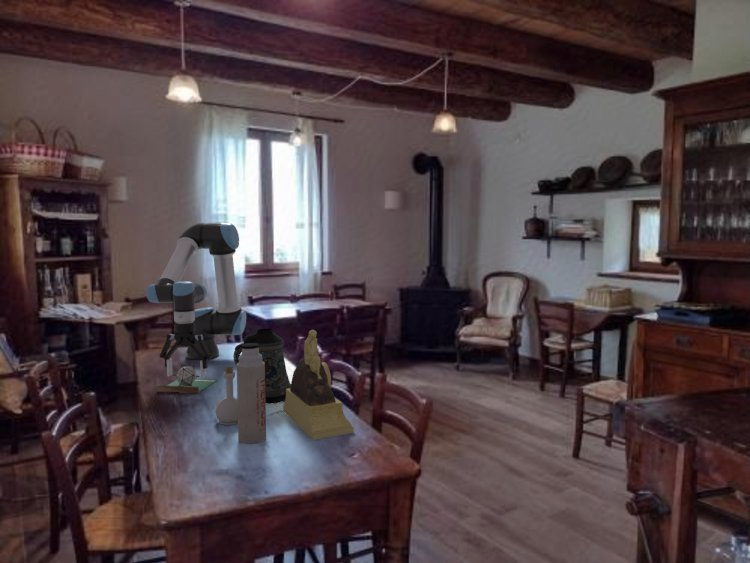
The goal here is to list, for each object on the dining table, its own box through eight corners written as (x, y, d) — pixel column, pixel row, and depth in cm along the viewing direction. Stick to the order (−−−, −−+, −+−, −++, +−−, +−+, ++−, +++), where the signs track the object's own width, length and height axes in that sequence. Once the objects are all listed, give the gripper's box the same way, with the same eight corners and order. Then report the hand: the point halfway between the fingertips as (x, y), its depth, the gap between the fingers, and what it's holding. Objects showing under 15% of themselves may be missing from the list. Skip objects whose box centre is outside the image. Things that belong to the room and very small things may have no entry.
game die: (191, 394, 218) (207, 372, 219) (183, 392, 209) (199, 369, 211) (174, 381, 219) (189, 360, 221) (165, 379, 211) (181, 357, 213)
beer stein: (301, 397, 203) (300, 329, 200) (256, 409, 189) (255, 336, 186) (273, 388, 214) (272, 323, 212) (229, 399, 200) (227, 330, 198)
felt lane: (180, 379, 227) (180, 377, 227) (217, 380, 225) (217, 379, 225) (158, 390, 210) (158, 389, 210) (198, 392, 208) (198, 391, 208)
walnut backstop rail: (158, 390, 210) (158, 384, 210) (198, 392, 208) (198, 386, 208) (157, 391, 209) (156, 385, 209) (197, 393, 207) (197, 387, 207)
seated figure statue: (353, 433, 167) (353, 334, 165) (313, 440, 162) (312, 338, 159) (319, 406, 192) (318, 320, 190) (283, 412, 187) (282, 323, 184)
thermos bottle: (271, 436, 164) (270, 343, 161) (252, 445, 157) (250, 348, 155) (252, 431, 168) (250, 340, 165) (232, 440, 161) (230, 345, 159)
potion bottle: (219, 428, 171) (218, 370, 169) (213, 419, 179) (212, 364, 177) (247, 423, 175) (246, 367, 173) (240, 415, 183) (239, 361, 181)
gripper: (148, 322, 211) (151, 377, 213) (211, 324, 208) (212, 380, 210) (159, 319, 218) (161, 372, 220) (219, 321, 215) (221, 374, 217)
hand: (186, 376), depth 215 cm, fingers open, 13 cm apart
